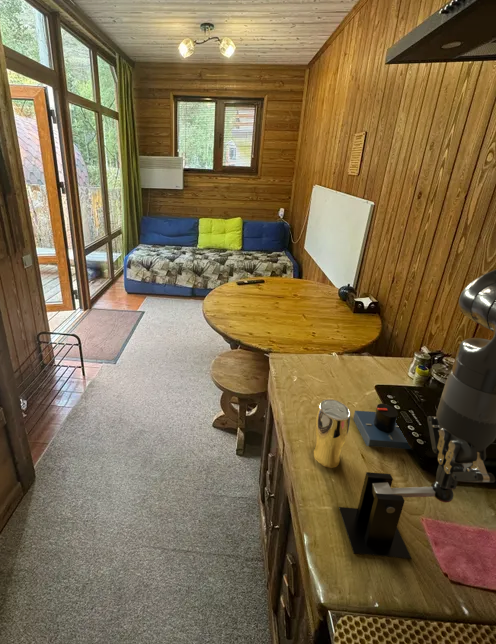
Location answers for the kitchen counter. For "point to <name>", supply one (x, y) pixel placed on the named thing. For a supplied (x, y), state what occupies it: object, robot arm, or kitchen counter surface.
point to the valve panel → (378, 432)
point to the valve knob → (385, 418)
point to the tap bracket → (375, 521)
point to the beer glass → (331, 431)
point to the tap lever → (415, 491)
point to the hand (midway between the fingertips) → (444, 484)
